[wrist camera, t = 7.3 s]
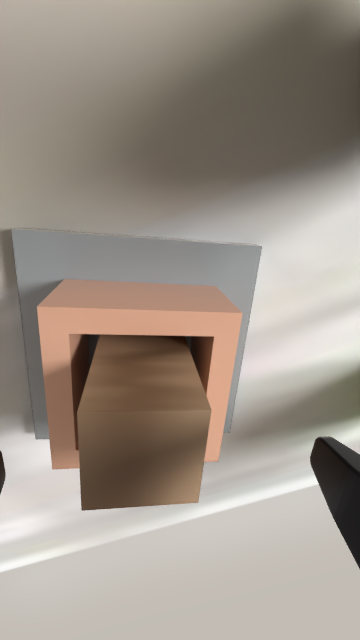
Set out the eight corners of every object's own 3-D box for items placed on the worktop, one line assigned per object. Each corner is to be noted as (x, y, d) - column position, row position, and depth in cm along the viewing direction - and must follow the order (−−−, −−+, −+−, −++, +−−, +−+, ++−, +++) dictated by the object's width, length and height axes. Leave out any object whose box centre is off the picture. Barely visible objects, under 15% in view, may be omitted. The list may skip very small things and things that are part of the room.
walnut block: (178, 318, 19) (211, 409, 10) (172, 380, 20) (198, 502, 12) (105, 316, 18) (77, 412, 9) (105, 380, 19) (81, 510, 11)
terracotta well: (255, 244, 18) (306, 260, 13) (226, 423, 23) (253, 491, 18) (18, 227, 16) (-44, 238, 11) (40, 429, 21) (5, 507, 16)
